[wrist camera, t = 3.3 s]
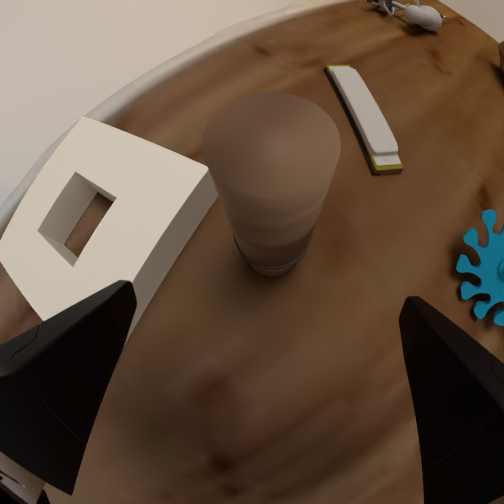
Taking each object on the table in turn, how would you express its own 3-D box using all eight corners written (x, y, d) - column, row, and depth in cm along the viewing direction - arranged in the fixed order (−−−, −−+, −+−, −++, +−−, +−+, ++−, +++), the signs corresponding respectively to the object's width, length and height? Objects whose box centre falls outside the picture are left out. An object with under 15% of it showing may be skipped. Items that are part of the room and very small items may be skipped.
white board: (219, 194, 22) (209, 167, 19) (114, 363, 19) (85, 366, 15) (100, 138, 26) (83, 116, 22) (20, 262, 22) (-5, 252, 19)
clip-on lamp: (402, 13, 36) (359, 5, 30) (408, -10, 31) (365, -24, 25) (450, 38, 32) (421, 33, 26) (458, 14, 27) (431, 1, 21)
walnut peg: (315, 240, 21) (362, 121, 8) (285, 294, 20) (304, 229, 8) (261, 211, 22) (247, 77, 9) (229, 262, 21) (171, 163, 8)
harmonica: (323, 72, 27) (324, 59, 25) (347, 72, 27) (350, 59, 25) (370, 178, 23) (377, 166, 21) (399, 175, 22) (407, 163, 21)
